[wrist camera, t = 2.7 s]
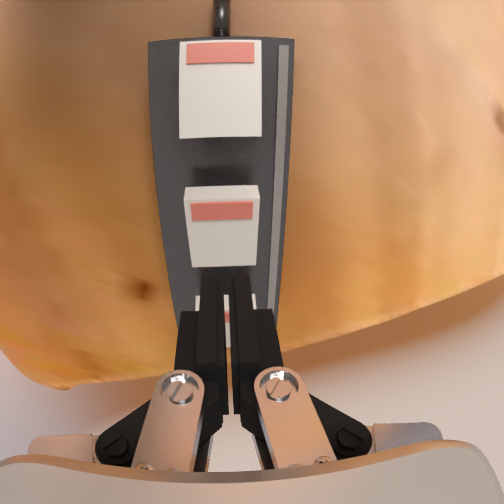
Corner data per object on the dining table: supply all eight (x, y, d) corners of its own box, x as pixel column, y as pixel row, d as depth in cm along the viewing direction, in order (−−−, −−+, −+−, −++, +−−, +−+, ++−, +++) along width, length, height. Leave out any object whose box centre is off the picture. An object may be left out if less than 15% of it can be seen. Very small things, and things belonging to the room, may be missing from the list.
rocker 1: (182, 48, 16) (179, 41, 14) (258, 46, 16) (261, 39, 14) (182, 138, 17) (178, 138, 16) (258, 136, 18) (261, 136, 16)
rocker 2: (185, 187, 19) (183, 201, 18) (257, 185, 19) (260, 199, 18) (193, 252, 23) (192, 268, 22) (254, 251, 23) (256, 266, 22)
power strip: (160, 4, 17) (147, -8, 14) (283, 2, 18) (296, -11, 14) (181, 304, 32) (178, 335, 28) (270, 301, 33) (276, 332, 29)
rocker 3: (195, 295, 24) (195, 312, 23) (254, 293, 24) (256, 310, 23) (202, 334, 28) (202, 349, 26) (252, 332, 28) (253, 347, 27)
